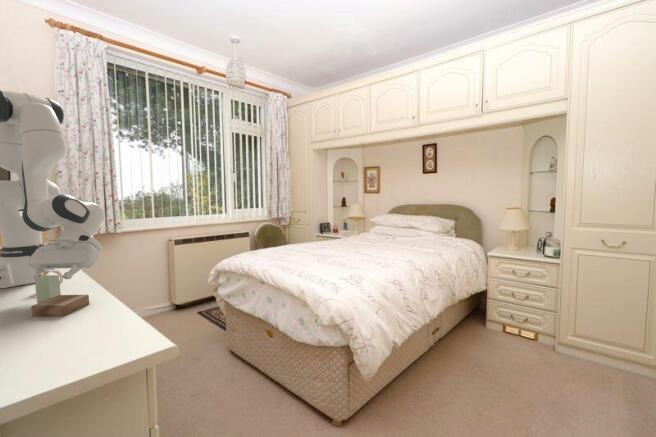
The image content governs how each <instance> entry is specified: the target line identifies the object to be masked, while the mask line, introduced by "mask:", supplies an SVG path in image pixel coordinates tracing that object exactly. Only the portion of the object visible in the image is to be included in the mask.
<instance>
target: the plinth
mask: <svg viewBox="0 0 656 437" xmlns="http://www.w3.org/2000/svg"><path fill="white" fill-rule="evenodd" d="M89 305H90V298H89V294H61V295H58V296H55V297H53V298H50V299H48V300H45V301H43V302H40V303H38V304H37V303H36V304H33V305H31V314H32V317H65V316H68V315H70V314H72V313H75V312H76V311H78V310H80V309H82V308H84V307H86V306H89Z"/></svg>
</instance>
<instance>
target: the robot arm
mask: <svg viewBox="0 0 656 437" xmlns="http://www.w3.org/2000/svg"><path fill="white" fill-rule="evenodd" d="M64 118H65V114H64V110H63V107H62V105H61V103H59V101H56V100H54V99H52V98H49V97H45V98H44V97H41V96H38V95H33V94H30V93H26V92H18V91H17V92H15V91H9V90H8V91H7V90H1V89H0V168H2V169H3V170H6V171H8V172H11V173H13V174H16V175H17V179H18V180H0V234H1V240H2V247H1V248H0V289H6V288H10V287H16V286H17V287H18V286H24V285H31V284H35V279H37V278H40V277H43V276H47V275H51V272H50V273H48V274H46V275H42V271H44V270H45V269H54V270H58V269H69V270H67V271H65V272H64V274H62V275H63V279H64V280H71V279H72V277H73V276H74V275H75V274H77V273H79V271H80V270H81V269H89V268H92V267H93V266H95V265H96V263H97V261H98V260H99V258H100V254H101V251H102V250H103V245H101V243H100V242H99V241H98V240H97V239H96V238H95V237H94V235H95V234H97V233H98V231H99V229H100V227H101V225H102V223H103V221H104V218H105V212H104V209H103V208H102V207H101V206H100V205H99V204H97V203H94V202H90V201H89V202H87V201H82V200H79V199H78V198H76V197H75V196H73V195H70V194H67V193H62V190H61V189H60V187H59V186H58V185H57V184H56V183H54V182H53V181H51V180H49V179H48V176H49V174H50V172H51V170H52V169H53V168H54V167H55V166H56V165H57V164H58V162H60V161H61V160H63V158H64V156H65V155H66V152H67V144H66V139H65V136H64V132H63V129H62V128H63V127H62V126H61V125H62V124H63V123H64ZM20 210H22V215H21V213H20ZM59 226H60V227H62V228H63V230H62V232H60V235H59V236H58V238H57V239H56V241H55V243H46V244H45V243H44V242H43V232H47V231H48V232H49V231H52V230H53V229H55V228H57V227H59Z"/></svg>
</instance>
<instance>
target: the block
mask: <svg viewBox="0 0 656 437" xmlns="http://www.w3.org/2000/svg"><path fill="white" fill-rule="evenodd" d="M34 285H35V294H36V304H38V303H40V302H43V301H45V300H48V299H50V298H53V297H55V296H58V295H62V294H61V285H60V276H59V275H58V274H55V275H47V276H43V277H40V278H37V279H35V283H34Z"/></svg>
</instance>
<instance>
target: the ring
mask: <svg viewBox="0 0 656 437" xmlns="http://www.w3.org/2000/svg"><path fill="white" fill-rule="evenodd" d="M48 273H50V274H51V273H54V274H56V275H59V282H60V286H61V285H62V283H63V281H64V278H63V275H64V274H63V273H62V272H61V271H60V270H58V269H45V270H44V271H42V275H46V274H48Z"/></svg>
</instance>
